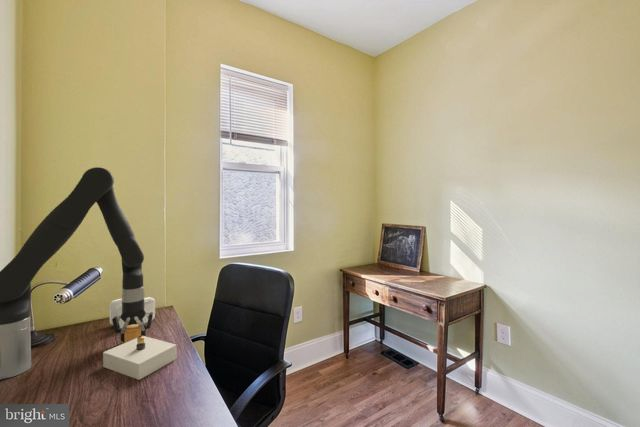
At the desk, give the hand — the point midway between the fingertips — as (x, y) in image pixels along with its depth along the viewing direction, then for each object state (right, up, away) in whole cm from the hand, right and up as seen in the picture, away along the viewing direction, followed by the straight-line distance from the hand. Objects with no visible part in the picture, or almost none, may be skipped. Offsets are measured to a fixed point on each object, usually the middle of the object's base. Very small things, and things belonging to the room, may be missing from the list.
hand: (133, 340), depth 118 cm
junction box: (+12, -1, -15) cm, 19 cm away
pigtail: (+12, +4, -15) cm, 20 cm away
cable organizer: (-12, 0, +18) cm, 22 cm away
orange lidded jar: (0, -1, 0) cm, 1 cm away
